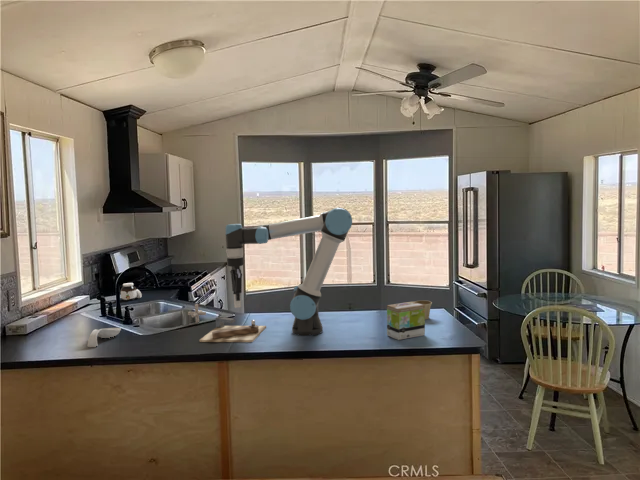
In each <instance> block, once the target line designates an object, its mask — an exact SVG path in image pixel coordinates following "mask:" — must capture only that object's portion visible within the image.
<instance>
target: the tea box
mask: <svg viewBox="0 0 640 480" xmlns="http://www.w3.org/2000/svg"><path fill="white" fill-rule="evenodd" d="M425 329H426V319H425V305H422V304H419V303H415V301H408V302H401V303H393V304H387V305H386V335H387V336H388V337H390V338H393V339H395V340H398V341H401V340H405V339H410V338H417V337H422V336H425V335H426V333H425V332H426V330H425Z"/></svg>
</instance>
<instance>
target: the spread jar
mask: <svg viewBox="0 0 640 480" xmlns="http://www.w3.org/2000/svg"><path fill="white" fill-rule="evenodd" d="M142 295H143V294H142V292H141V291H140V290H139V289H138V288H136V286H134V283H133V282H127V283H123V284H122V287H121V289H120V299H122V300H123V301H124V302H130V301H134V300H136V298H137V299H140V298H142Z"/></svg>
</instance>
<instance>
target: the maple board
mask: <svg viewBox="0 0 640 480" xmlns="http://www.w3.org/2000/svg"><path fill="white" fill-rule="evenodd" d="M248 326H249V325H224V327H221V328H218V327H216V326H215V328H213V329H211V330H210V331H209V332H208V333H207V334H205V335H204V336H203V337H201V338H200V339H199V342H200V343H253V342H254V341H256V339H257V338H258V337H259V336H260V335H261V334H262V333H263V331H265V330H266V329H267V325H257V326H258V328H259V332H257V333H248V334H241V335H235V336H228V337H221V338H215V339H214V338H213V337H212V332H213V331H220V330H227V329H234V328H241V327H248Z"/></svg>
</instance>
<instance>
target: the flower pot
mask: <svg viewBox="0 0 640 480" xmlns="http://www.w3.org/2000/svg"><path fill="white" fill-rule="evenodd" d="M414 302H415V303H419V304H422V305H425V320H428V319H430V314H431V313H430V312H431V306H432V305H433V302H432V301H430V300H416V301H414Z"/></svg>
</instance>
